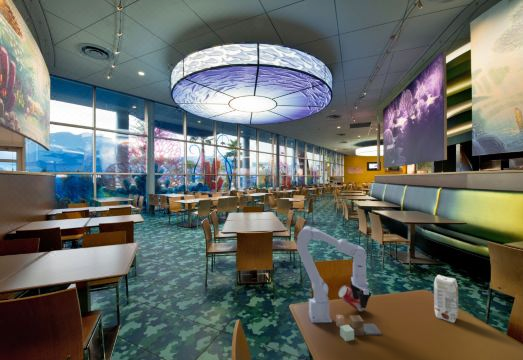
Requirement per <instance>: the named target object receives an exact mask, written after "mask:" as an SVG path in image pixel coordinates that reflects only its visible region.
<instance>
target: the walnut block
mask: <svg viewBox="0 0 523 360" xmlns="http://www.w3.org/2000/svg"><path fill="white" fill-rule="evenodd" d="M348 316H349V319H348V320H349V324H348V325H349V326H350V327H351V328H352V329H353V330H354V336H365V333H364V324H365V321H364V319H363V318H362V317H361V316H360V315H359V314H358V315H357V314H355V315H348Z"/></svg>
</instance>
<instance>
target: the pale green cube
mask: <svg viewBox="0 0 523 360" xmlns="http://www.w3.org/2000/svg"><path fill="white" fill-rule="evenodd" d="M339 336H340V337H341V338H342V339H343V340H344V341H345V342H349V341H354V340H355V335H354V330H353V329H352V328H351V327H350V326H349V324H344V325H343V326H340V328H339Z"/></svg>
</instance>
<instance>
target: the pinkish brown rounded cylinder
mask: <svg viewBox="0 0 523 360" xmlns="http://www.w3.org/2000/svg"><path fill="white" fill-rule="evenodd" d="M343 325H345V316H344V315H343V314H340V313H339V314H336V315H335V326H336V327H337V328H339V329H340V326H343Z"/></svg>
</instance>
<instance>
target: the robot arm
mask: <svg viewBox="0 0 523 360" xmlns="http://www.w3.org/2000/svg"><path fill="white" fill-rule="evenodd" d="M311 240H312V241H319V240H320V241H323V242H325V243H327V244H329V245H332V246H334V247H335V248H336V250H337V251H338V252H341V253H343V254H345V255H347V256H349V257H352V258H353V259H352V260H353V262H352V276H351V277H350V282H349V283H348V285H349V288H351V290H352V294H353V298H354V299H359V300H360V306H361V308H365V309H367V306H368V303H369V302H368V301H369V300H370V298H371V296H372V293H371V292H370V289H369V288H368V286H370V285H369V282H367V258H368V255H367V252H366V250H365V248H364V247H363V246H362V245H358V244H356V243H352V242H350V241H348V239H346V238H344V239H343V238H340V239H337V238H335V237H333V236H332V235H329V234H327V232H326V233H325V232H324V231H321V230H320V229H318V228H315V227H312V226H310V225H305V226H304V227H302V229H301V230H300V231H299V233H298V234H297V240H296V245H295V246H296V249H297V252H298V254H299V257H300V260H301V261H302V264H303V266H304V269H305V271H306V273H307V276H308V277H309V280H310V282H311V288H312V292H313V298H308V316H309V319H310V321H311V323H333V320H332V317H330V298H329V297H328V294H329V286H328V284H327V283H326V282H325V281H324V279H323V278H322V277H321V275H320V273H319V270H318V269H317V267H316V264H315V262H314V260H313V257H312V255H311V252H310V250H309V249H308V245H309V243H310V242H311Z"/></svg>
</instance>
